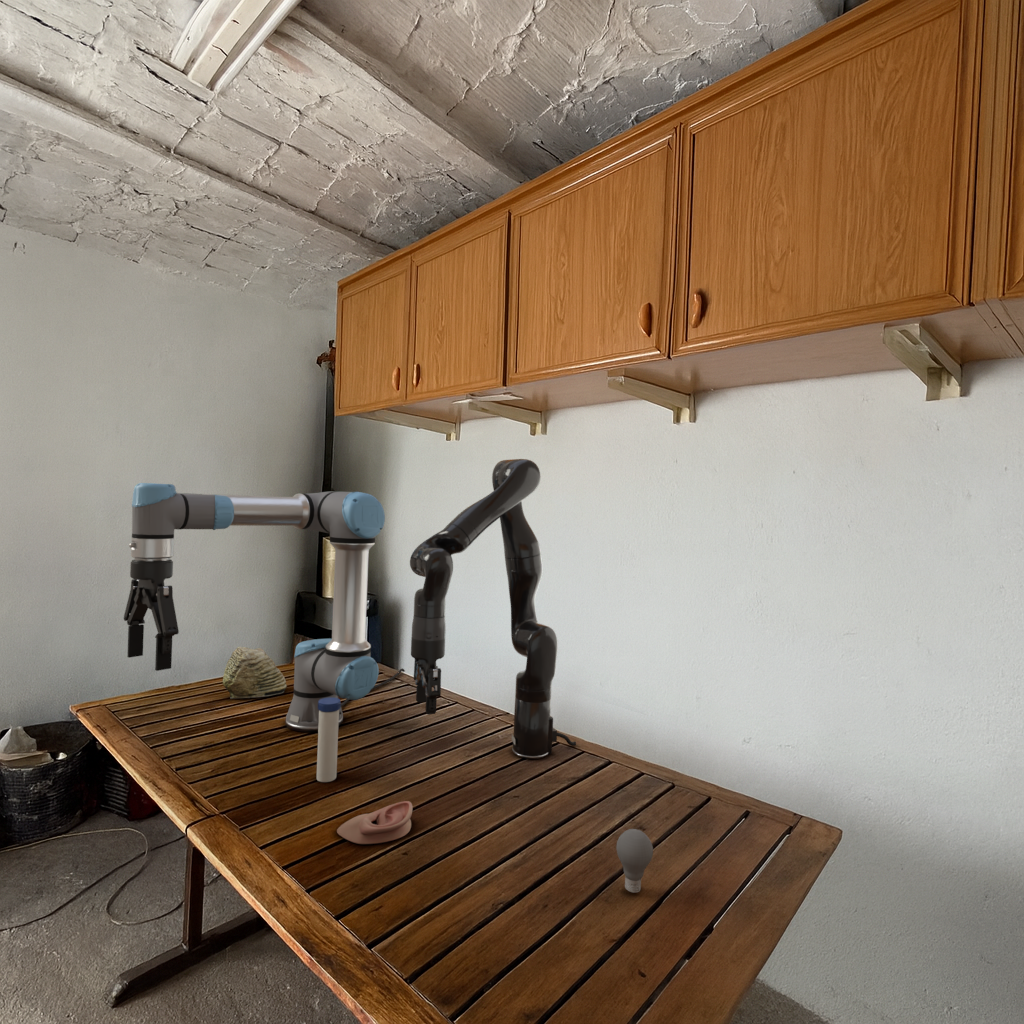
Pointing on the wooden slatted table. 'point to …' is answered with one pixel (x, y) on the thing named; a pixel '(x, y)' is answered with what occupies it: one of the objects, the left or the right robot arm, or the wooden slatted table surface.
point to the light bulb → (634, 857)
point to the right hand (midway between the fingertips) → (425, 707)
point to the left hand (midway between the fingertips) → (148, 662)
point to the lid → (329, 704)
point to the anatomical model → (379, 825)
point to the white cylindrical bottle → (327, 746)
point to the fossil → (252, 674)
